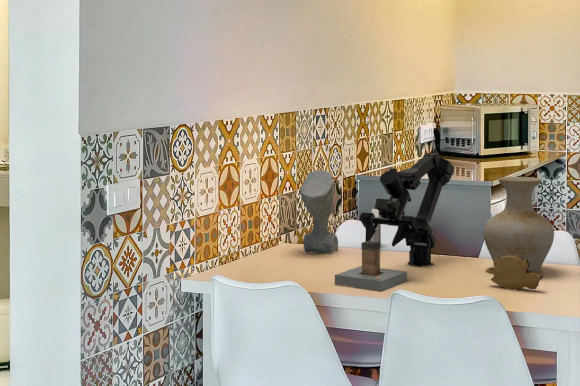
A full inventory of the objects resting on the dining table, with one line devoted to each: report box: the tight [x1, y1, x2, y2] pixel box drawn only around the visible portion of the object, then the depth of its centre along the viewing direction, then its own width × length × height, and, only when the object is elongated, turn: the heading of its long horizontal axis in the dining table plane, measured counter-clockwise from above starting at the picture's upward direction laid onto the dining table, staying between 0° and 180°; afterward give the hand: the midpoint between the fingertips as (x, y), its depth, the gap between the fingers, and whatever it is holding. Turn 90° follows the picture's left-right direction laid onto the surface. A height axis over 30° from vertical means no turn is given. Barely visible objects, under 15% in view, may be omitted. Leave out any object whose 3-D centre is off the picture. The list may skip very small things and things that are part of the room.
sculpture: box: [300, 169, 339, 254], centre depth 304 cm, size 12×23×30 cm, turn 170°
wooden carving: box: [485, 255, 544, 290], centre depth 246 cm, size 16×5×10 cm, turn 62°
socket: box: [334, 265, 408, 292], centre depth 256 cm, size 16×16×3 cm
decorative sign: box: [370, 208, 382, 243], centre depth 309 cm, size 23×3×15 cm, turn 168°
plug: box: [361, 241, 382, 276], centre depth 255 cm, size 4×4×12 cm
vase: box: [482, 176, 555, 274], centre depth 268 cm, size 22×22×30 cm
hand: (379, 244), depth 259 cm, fingers open, 9 cm apart
